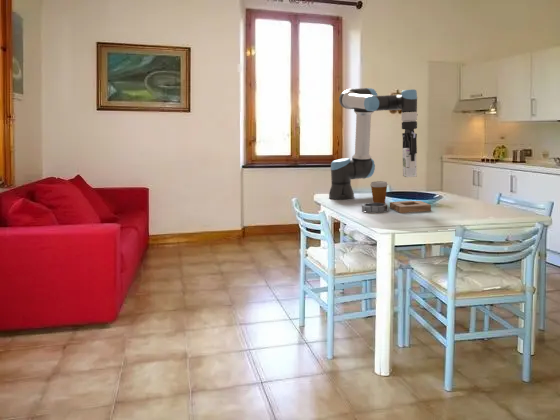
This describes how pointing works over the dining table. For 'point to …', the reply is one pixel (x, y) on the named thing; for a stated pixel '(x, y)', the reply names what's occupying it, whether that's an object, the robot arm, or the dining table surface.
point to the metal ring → (374, 207)
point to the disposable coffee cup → (379, 191)
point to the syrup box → (406, 170)
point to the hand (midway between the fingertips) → (409, 167)
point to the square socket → (410, 206)
